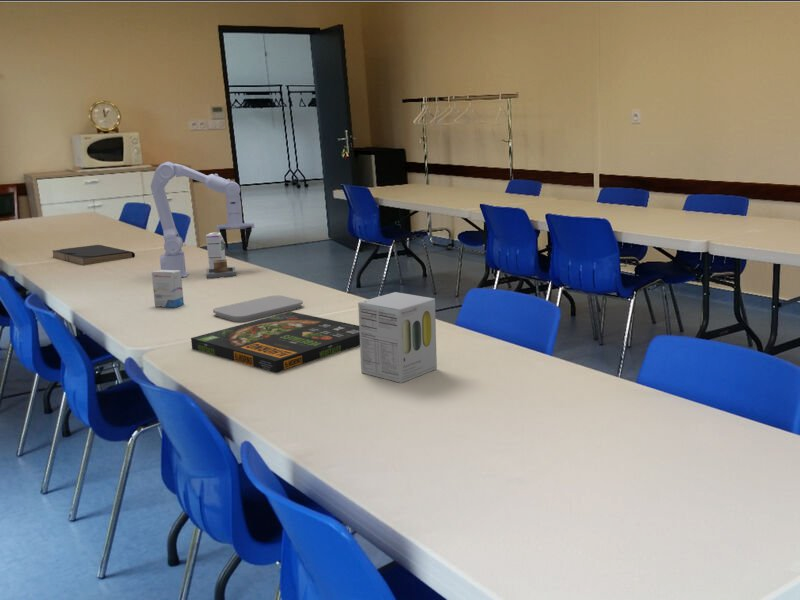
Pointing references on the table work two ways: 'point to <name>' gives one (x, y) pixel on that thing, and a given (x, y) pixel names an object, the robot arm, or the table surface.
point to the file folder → (92, 254)
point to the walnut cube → (220, 266)
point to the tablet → (257, 308)
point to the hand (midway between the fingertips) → (237, 247)
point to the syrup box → (215, 248)
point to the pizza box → (280, 341)
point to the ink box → (167, 288)
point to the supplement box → (397, 336)
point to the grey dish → (230, 273)
